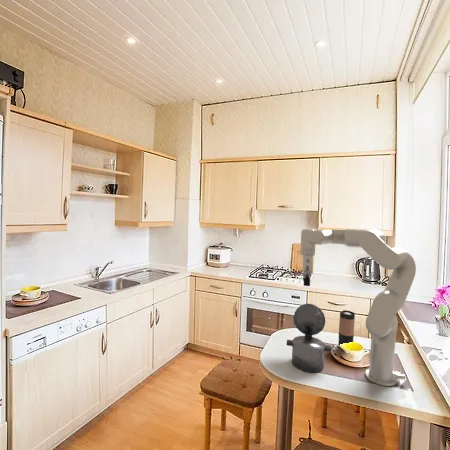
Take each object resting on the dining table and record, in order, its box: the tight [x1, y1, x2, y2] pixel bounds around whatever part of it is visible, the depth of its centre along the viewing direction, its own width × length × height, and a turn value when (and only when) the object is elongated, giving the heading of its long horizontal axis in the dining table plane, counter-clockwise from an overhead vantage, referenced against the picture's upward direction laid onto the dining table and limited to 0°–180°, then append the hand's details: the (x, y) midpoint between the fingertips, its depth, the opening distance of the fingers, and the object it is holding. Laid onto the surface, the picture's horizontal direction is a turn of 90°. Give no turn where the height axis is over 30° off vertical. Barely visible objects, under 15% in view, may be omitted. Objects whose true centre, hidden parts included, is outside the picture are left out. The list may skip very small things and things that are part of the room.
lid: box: [293, 303, 326, 337], centre depth 154 cm, size 16×16×3 cm
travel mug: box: [337, 309, 356, 345], centre depth 163 cm, size 8×8×20 cm
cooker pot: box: [286, 335, 332, 374], centre depth 145 cm, size 21×17×11 cm
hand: (306, 283), depth 161 cm, fingers open, 9 cm apart
